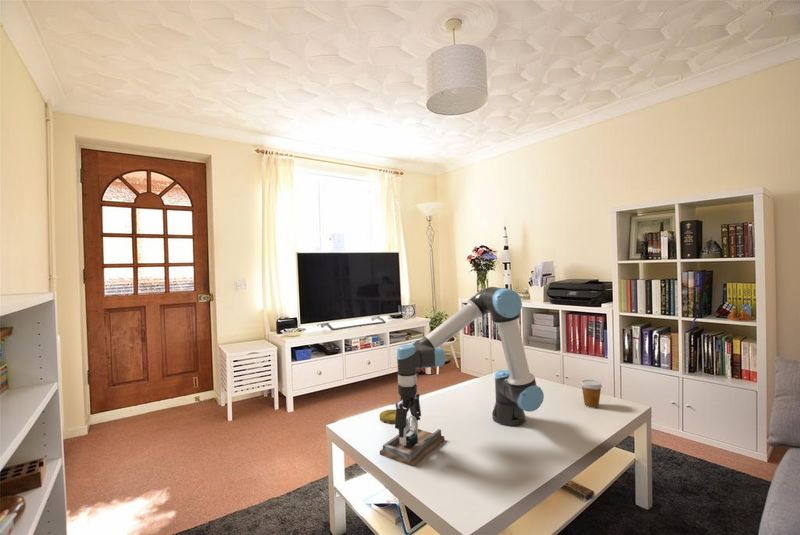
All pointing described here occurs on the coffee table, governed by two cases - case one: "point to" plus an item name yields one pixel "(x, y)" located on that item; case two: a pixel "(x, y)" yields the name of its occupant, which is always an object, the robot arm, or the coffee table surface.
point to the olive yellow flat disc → (388, 416)
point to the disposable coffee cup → (591, 392)
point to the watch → (411, 431)
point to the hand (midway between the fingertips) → (409, 439)
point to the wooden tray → (415, 452)
